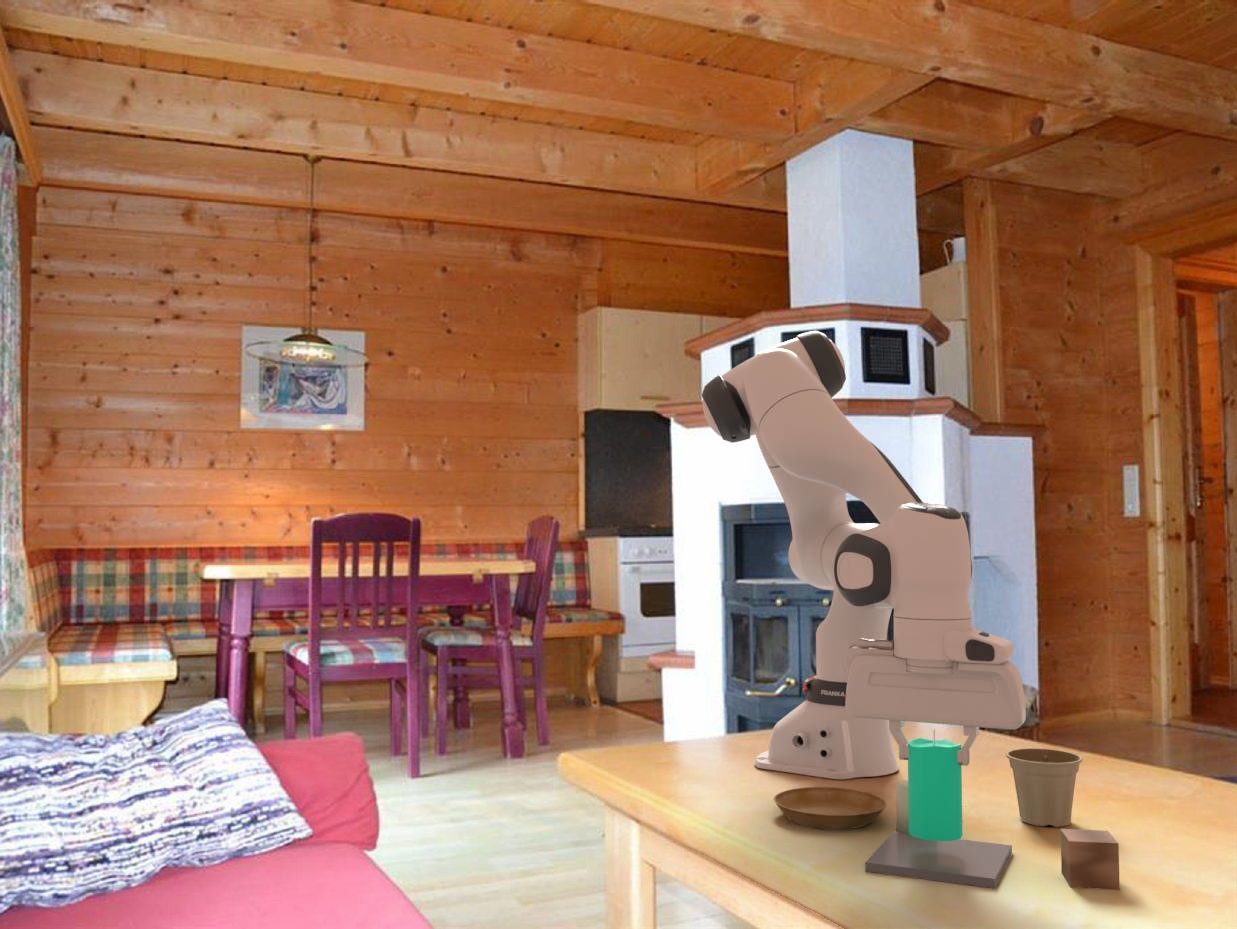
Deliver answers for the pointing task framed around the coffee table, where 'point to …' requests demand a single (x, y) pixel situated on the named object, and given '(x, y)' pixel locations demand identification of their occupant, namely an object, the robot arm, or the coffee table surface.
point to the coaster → (941, 860)
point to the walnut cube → (1090, 859)
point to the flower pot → (1044, 784)
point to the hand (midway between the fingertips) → (934, 761)
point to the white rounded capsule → (902, 807)
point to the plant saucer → (830, 807)
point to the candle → (934, 790)
